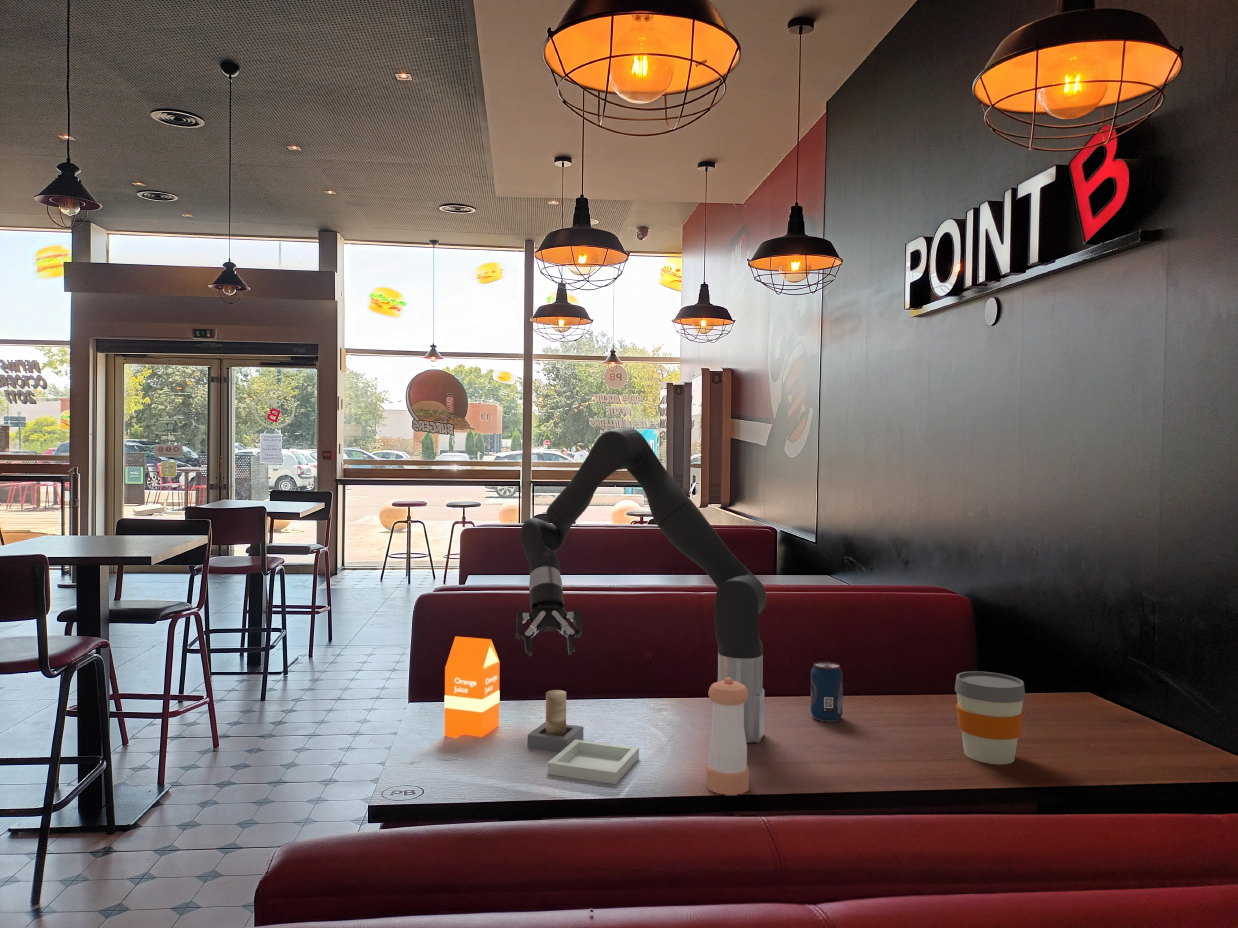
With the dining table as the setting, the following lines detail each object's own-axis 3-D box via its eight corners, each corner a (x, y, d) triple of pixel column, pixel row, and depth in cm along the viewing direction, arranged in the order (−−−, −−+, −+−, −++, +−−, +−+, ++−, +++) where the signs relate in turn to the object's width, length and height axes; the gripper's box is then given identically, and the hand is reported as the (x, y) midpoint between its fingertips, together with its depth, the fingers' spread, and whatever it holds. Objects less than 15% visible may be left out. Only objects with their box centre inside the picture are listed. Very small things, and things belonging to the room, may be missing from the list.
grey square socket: (583, 743, 160) (583, 726, 161) (566, 757, 153) (567, 739, 153) (545, 738, 163) (545, 721, 163) (527, 752, 155) (527, 734, 155)
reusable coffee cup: (940, 749, 159) (940, 674, 159) (986, 741, 164) (986, 668, 164) (992, 771, 147) (992, 690, 147) (1040, 762, 152) (1040, 684, 152)
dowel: (569, 740, 159) (569, 691, 159) (561, 747, 155) (561, 696, 155) (550, 738, 160) (551, 689, 160) (542, 745, 157) (542, 694, 157)
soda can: (809, 712, 182) (809, 660, 182) (840, 713, 181) (840, 661, 181) (812, 721, 176) (812, 667, 176) (844, 723, 175) (844, 668, 175)
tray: (638, 763, 150) (639, 747, 150) (615, 789, 138) (615, 772, 138) (575, 754, 154) (575, 739, 154) (547, 779, 142) (547, 762, 142)
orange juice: (481, 741, 161) (482, 643, 161) (443, 736, 164) (444, 639, 164) (499, 729, 169) (500, 635, 169) (463, 725, 172) (463, 632, 172)
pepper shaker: (702, 791, 137) (702, 680, 137) (712, 776, 144) (713, 670, 144) (743, 798, 135) (744, 685, 135) (752, 782, 141) (753, 674, 142)
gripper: (515, 581, 177) (517, 644, 165) (578, 580, 179) (585, 642, 168) (513, 601, 182) (516, 664, 171) (575, 600, 185) (582, 661, 173)
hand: (550, 653), depth 169 cm, fingers open, 8 cm apart
